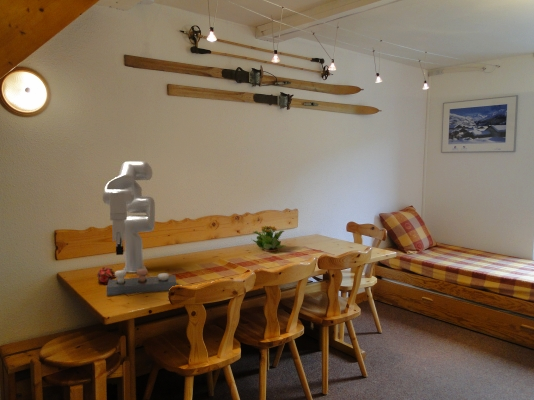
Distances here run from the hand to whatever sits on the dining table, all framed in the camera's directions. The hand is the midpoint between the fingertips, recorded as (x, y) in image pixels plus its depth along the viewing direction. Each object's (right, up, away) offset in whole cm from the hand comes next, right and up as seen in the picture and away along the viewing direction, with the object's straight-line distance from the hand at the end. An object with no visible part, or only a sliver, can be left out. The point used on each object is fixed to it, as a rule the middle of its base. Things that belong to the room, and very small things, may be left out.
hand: (119, 254), depth 198 cm
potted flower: (+73, -9, +87) cm, 114 cm away
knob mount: (+10, -18, +5) cm, 21 cm away
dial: (+10, -15, +5) cm, 18 cm away
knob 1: (0, -15, +2) cm, 15 cm away
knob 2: (+19, -17, +8) cm, 27 cm away
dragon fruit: (-12, -17, +15) cm, 26 cm away
